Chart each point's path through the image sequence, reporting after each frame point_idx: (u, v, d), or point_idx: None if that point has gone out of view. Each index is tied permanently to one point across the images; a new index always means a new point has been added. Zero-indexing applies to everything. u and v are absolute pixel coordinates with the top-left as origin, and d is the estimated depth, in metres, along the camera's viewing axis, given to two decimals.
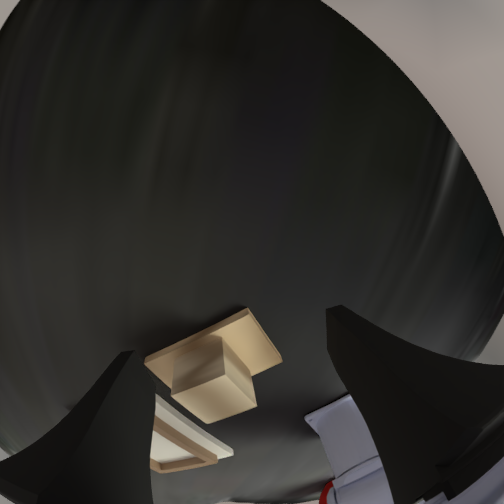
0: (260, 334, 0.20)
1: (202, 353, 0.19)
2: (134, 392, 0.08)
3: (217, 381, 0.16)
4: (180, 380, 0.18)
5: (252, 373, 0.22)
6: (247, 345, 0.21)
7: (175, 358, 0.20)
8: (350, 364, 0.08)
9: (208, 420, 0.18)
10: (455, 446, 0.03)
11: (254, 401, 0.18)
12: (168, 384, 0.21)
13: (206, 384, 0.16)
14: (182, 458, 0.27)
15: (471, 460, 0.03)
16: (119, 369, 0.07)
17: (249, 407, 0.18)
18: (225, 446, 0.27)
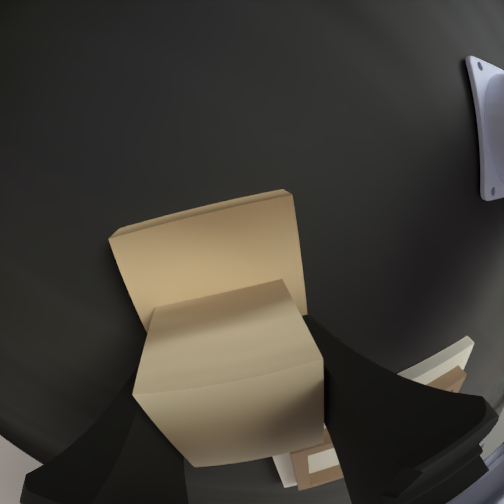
0: (171, 229, 0.08)
1: None
2: None
3: (156, 412, 0.06)
4: None
5: (296, 275, 0.09)
6: (194, 265, 0.09)
7: None
8: None
9: (311, 441, 0.07)
10: (395, 481, 0.03)
11: (303, 356, 0.06)
12: None
13: (163, 428, 0.06)
14: None
15: (424, 492, 0.03)
16: None
17: (315, 375, 0.06)
18: (454, 347, 0.14)
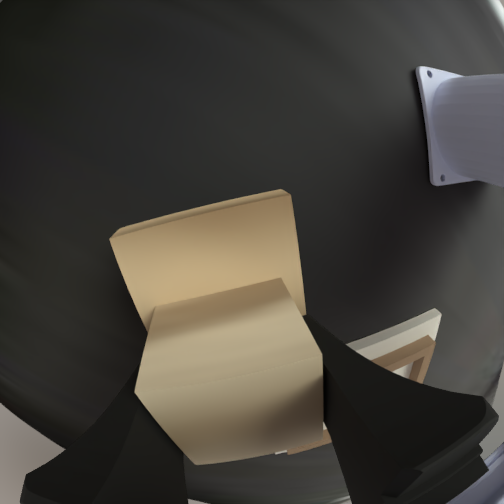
0: (171, 228, 0.08)
1: None
2: None
3: (157, 409, 0.06)
4: None
5: (295, 274, 0.09)
6: (194, 264, 0.09)
7: None
8: None
9: (311, 437, 0.07)
10: (396, 482, 0.03)
11: (303, 353, 0.06)
12: None
13: (165, 425, 0.06)
14: (406, 375, 0.20)
15: (424, 492, 0.03)
16: None
17: (314, 371, 0.06)
18: (421, 317, 0.18)
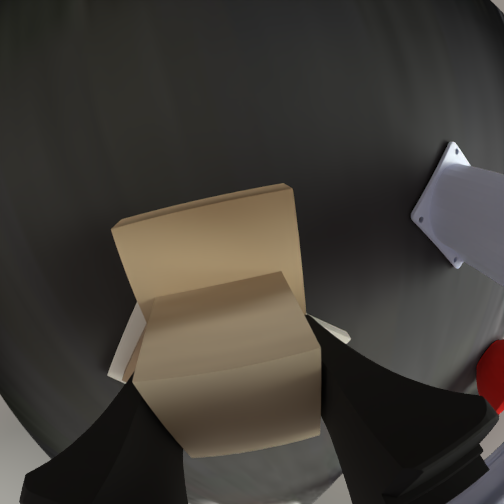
0: (173, 220, 0.08)
1: None
2: None
3: (155, 399, 0.06)
4: None
5: (295, 268, 0.10)
6: (195, 256, 0.09)
7: None
8: None
9: (308, 432, 0.07)
10: (396, 481, 0.03)
11: (301, 346, 0.06)
12: None
13: (162, 416, 0.06)
14: None
15: (424, 492, 0.03)
16: None
17: (312, 365, 0.06)
18: (333, 327, 0.21)
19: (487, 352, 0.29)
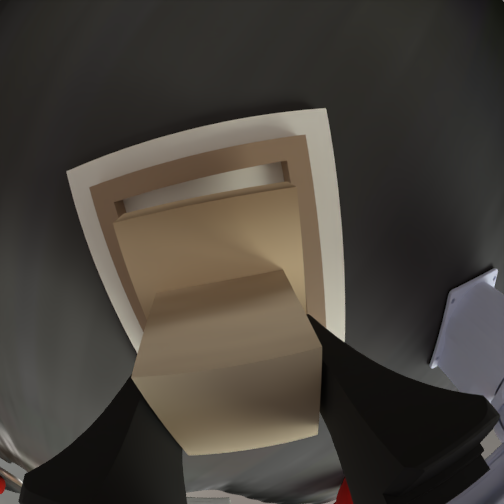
0: (175, 215, 0.08)
1: None
2: None
3: (154, 396, 0.06)
4: None
5: (297, 267, 0.09)
6: (197, 252, 0.09)
7: None
8: None
9: (306, 432, 0.07)
10: (397, 481, 0.03)
11: (302, 344, 0.06)
12: None
13: (160, 412, 0.06)
14: None
15: (425, 491, 0.03)
16: None
17: (313, 364, 0.06)
18: None
19: None
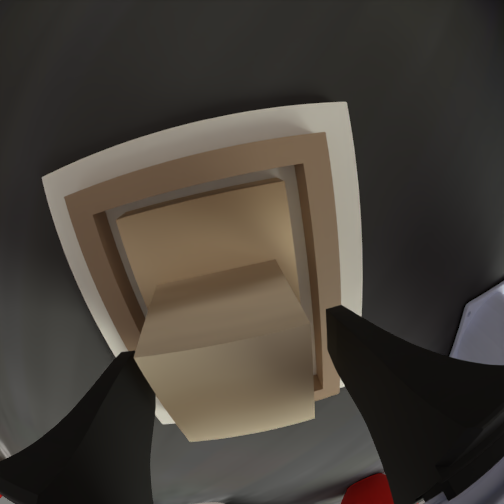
0: (173, 211, 0.09)
1: None
2: (134, 392, 0.08)
3: (155, 376, 0.06)
4: None
5: (288, 256, 0.10)
6: (194, 245, 0.09)
7: None
8: (350, 364, 0.08)
9: (303, 415, 0.08)
10: (455, 446, 0.03)
11: (292, 321, 0.07)
12: None
13: (161, 394, 0.07)
14: None
15: (471, 460, 0.03)
16: (119, 369, 0.07)
17: (303, 341, 0.07)
18: None
19: (370, 478, 0.28)
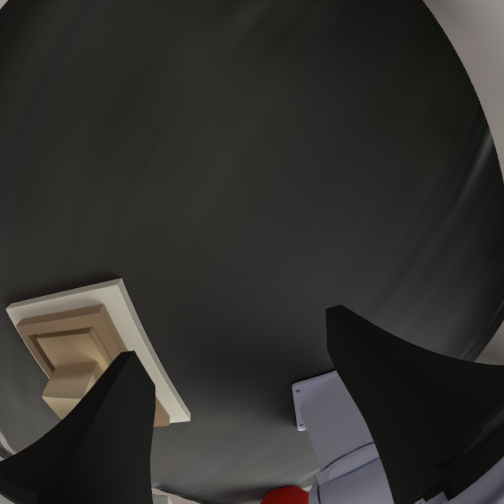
0: (54, 339, 0.16)
1: None
2: (134, 392, 0.08)
3: (49, 403, 0.14)
4: None
5: (102, 361, 0.17)
6: (65, 352, 0.17)
7: None
8: (350, 364, 0.08)
9: None
10: (455, 446, 0.03)
11: (79, 396, 0.14)
12: None
13: (53, 409, 0.14)
14: None
15: (471, 460, 0.03)
16: (119, 369, 0.07)
17: None
18: (184, 406, 0.23)
19: (283, 489, 0.36)
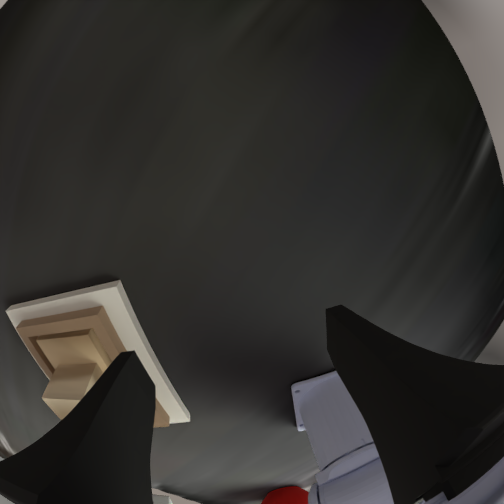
0: (53, 341, 0.16)
1: None
2: (134, 392, 0.08)
3: (49, 404, 0.14)
4: None
5: (102, 362, 0.18)
6: (65, 353, 0.17)
7: None
8: (350, 364, 0.08)
9: None
10: (454, 446, 0.03)
11: (79, 397, 0.14)
12: None
13: (53, 410, 0.14)
14: None
15: (471, 460, 0.03)
16: (119, 369, 0.07)
17: None
18: (183, 406, 0.23)
19: (284, 489, 0.36)
